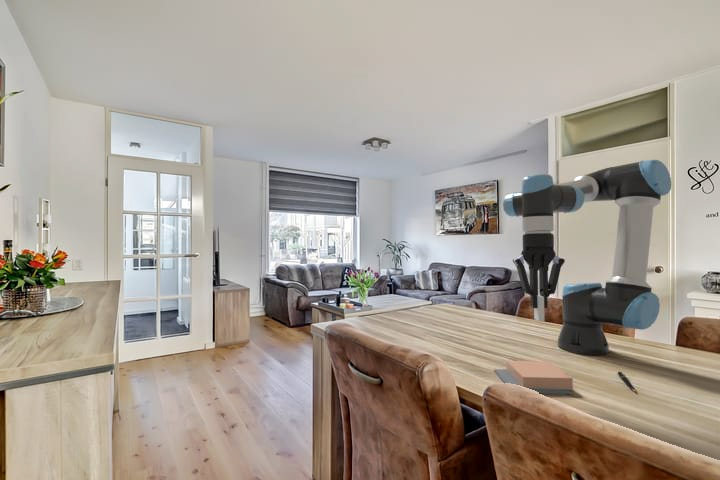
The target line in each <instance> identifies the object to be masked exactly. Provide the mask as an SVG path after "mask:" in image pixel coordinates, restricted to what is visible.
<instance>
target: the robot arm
mask: <svg viewBox="0 0 720 480" xmlns="http://www.w3.org/2000/svg"><path fill="white" fill-rule="evenodd" d="M521 181H522V184H521V191H519V192H513V193H509V194H507V195H505V197H504V199H503V201H502V207H503V208H502V209H503V211H504V213H505V215H507V216H510V217H522V219H521V221H522V223H521V224H522V232H523V235H522V251H521V253H520V256H518V257H516V258H513V259H512V263H513V264H514V265H515V267H516V270H517V273H518V277H519V280H520V285H521V289H522V292H523V293H524V294H527V295H529V297H530V307H531V308H533V313H534V316H533V317H534V320H536V321H538V322H545V309H547V308H548V306H549V305H548V298H549V297H550V295H555V293H556V290H557V286H558V281H559V278H560V277H559V276H560V273H561V269H562V267H563V265H564V264H565V262H566V259H564V258H561V257H559V256H558V255H556V251H555V249H554V246H555V240H554V239H555V235H554V233H552V232H553V231H554V229H555V227H554V226H555V225H554V213H565V214H567V213H574V212H577V211H579V210H580V209H581V208H582V207H583V205H584V204H585V203H589V202H603V201H604V202H605V201H606V202H607V201H608V202H609V201H610V202H611V201H614V204H616V205H617V206H618V207H619V209H618V210H619V212H618V220H617V228H616V229H617V231H616V237H615V239H616V240H615V248H614V258H613V267H612V275H611V277H610V278H609V279H608V280H606V281H605V286H604V287H603V285H602V283H600V282H581V283H579V282H578V283H569V284H565V285H564V286H563V287H562V295H561V298H562V327H561V329H560V332H559V335H558V338H557V347H559V348H560V349H562V350H563V351H566V352H571V353H576V354H580V355H588V356H589V355H590V356H603V355H607V354H609V352H610V346H609V342H608V340H607V338H606V335H605V332H604V330H603V324H607V325H611V326H612V325H613V326H617V327H622V328H625V329H628V330H629V329H633V330H639V331H640V330H641V331H642V330H647V329H649V328H650V327H652V325H653V324H655V322H656V321H657V318H658V316H659V313H660V308H661V304H660V299H659V296H658V295H656V293H654V292H653V291H652V289H653V287H652V286H651V285H650V284H649V283H648V282H647V275H648V267H649V266H648V265H649V257H650V255H649V254H650V245H651V236H652V235H651V234H652V223H653V216H654V215H653V213H654V208H655V207H656V206H658V205H659V204H660V203H661V198H662V197H663V196H666V195H669V193H670V191H671V190H672V178H671V175H670V171H669V170H668V168H667V166H666V164H664V162H662V161H660V160H659V159H647V160H640V161H636V162H631V163H626V164H620V165H615V166H609V167H606V168H605V167H604V168H602V169H598V170H596V171H592V172H591V173H588V174H584V175H581V176H578V177H575V179H574V180H571V181H565V182H561V183H560V182H559V183H556V184H554V179H553V176H552V175H551V174H542V173H541V174H533V175H528V176H525V177H524V178H523V179H522V180H521ZM525 263H526V265H527V266H528V270H529V271H528V273H529V279H528V275H527V272H526V267H525ZM551 263H552V266H551V270H550V273H549V269H550V268H549V266H550V264H551Z"/></svg>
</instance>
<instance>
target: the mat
mask: <svg viewBox="0 0 720 480" xmlns="http://www.w3.org/2000/svg"><path fill="white" fill-rule="evenodd" d="M493 372H494V373H495V374H496V375H497V376H498V378H499V379H500V380H501V381H502V383H504V384H505V383H511V384H516V385H519V384H518V383H517V382H516V381H515V380H514V379H513V377H512V376H511V375H510V374H509V373H508V372H507V368H506V369H504V368H503V369H501V368H499V369H497V368H496V369H495V368H494V369H493ZM532 390H535V391H537V392H539V393H541V394H540V395H565V394H569V396H571V395H572V392H571V390H547V389H532Z"/></svg>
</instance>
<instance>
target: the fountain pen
mask: <svg viewBox="0 0 720 480" xmlns="http://www.w3.org/2000/svg"><path fill="white" fill-rule="evenodd" d="M617 375H618V376H619V378H620V379H621V381H623V382H624V383H625V384H626V386H627V387H628V388H629V389H630V390H631V391H632V392H636V389H635V387H634V385H632V383H631V382H630V381H629V379H628V378H627V377H626V376H627V375H626V373H624V372H623V371H622V370H619V371H618V372H617Z"/></svg>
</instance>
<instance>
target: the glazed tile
mask: <svg viewBox="0 0 720 480" xmlns="http://www.w3.org/2000/svg"><path fill="white" fill-rule="evenodd" d="M506 370H507V372H508V373H509V374H510V375H511V376H512V377H513V379H514V380H515V381H516V382H517V383H518V384H519V385H520V386H523V387H526V388H529V389H547V390H569V391H573V390H574V388H573V387H574V386H573V385H574V383H573V377H572V376H570V375H569V374H568V373H567V372H565V371H563V369H561V368H559V367H558V366H556V365H555V364H554V363H552V362H551V361H533V360H532V361H529V360H524V361H523V360H506Z"/></svg>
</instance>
